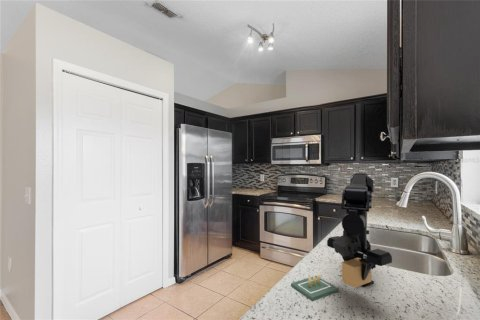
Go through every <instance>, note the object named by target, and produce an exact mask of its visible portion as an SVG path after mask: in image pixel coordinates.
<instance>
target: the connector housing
mask: <svg viewBox="0 0 480 320" xmlns="http://www.w3.org/2000/svg"><path fill="white" fill-rule="evenodd" d="M359 259H361V258H355V259H351V260H348V261H344V260H343V261H342V262H341V282H342V283H344V284H347V285H348V286H350V287H352V288H354V289H355V288H358V287H362V286H361V285H364V284H366V283H369V282H371V280H372V269H371V270H370V272H369V273H368V275H367V277H366V279H365V280H362V264H361V262H360V261H359Z"/></svg>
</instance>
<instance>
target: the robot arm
mask: <svg viewBox="0 0 480 320" xmlns="http://www.w3.org/2000/svg"><path fill="white" fill-rule="evenodd" d="M349 182H350V183H349V184H348V185H346V186H345V188H344V190H342V195H341V204H340V205H341V206H340V209H341V210H346V213H345V215H344V216H343V218H342V219H341V227H342V229H343V231H342V235H341V236H338V235H336V236H335V235H334V236H332V237H331V236H330V237H328V238H327V240H326V246H327V247H328V248H332V249H334V252H335V253H336V254H339V255H340V256H341V257H342V260H343V262H344V261H348V260H351V259H355V258H361V259H359V261H360V262H361V264H362V280H365V279H366V277H367V275H368V273H369V272H370V270H371V271H372V270H374V269H376V268H377V267H376V266H379V267H383V266H386V265H388V264H389V265H390V264H392V263H393V257H392V254H391V253H390V251H389V252H388V251H386V250H383V249H380V248H376V249H373V250H372V246H371V243H370V242H369V239H367V236H368V235H369V234H370V230H368V229H367V228H368V213H369V212H370V209H372V208H373V207H372V203H373V194H374V193H375V191H374V190H375V187H374V183H375V182H374V180H373V178H371V177H369V174H368V173H366V172H356V173H352V177H351V178H350V180H349ZM373 284H375V281H374V280H372V279H371V282H369V283H366V284H364V285H361V286H360V287H362V288H365V287H367V286H370V285H373Z"/></svg>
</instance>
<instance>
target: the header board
mask: <svg viewBox="0 0 480 320" xmlns="http://www.w3.org/2000/svg"><path fill="white" fill-rule="evenodd" d="M290 287H292V288H293V289H295V291H297V292H298V293H300V294H301V295H303V296H305V298H307V299H309V300H310V301H311V302H314V301H317V300H318V299H321V298H325V297H328V296H330V295H333V294H335V293H338V292H339V287H337V286H335V285H334V284H331V283H330V282H328V281H326V280H324V279H323V278H321V276H320V274H317V275H313V276H310V277H307V278H304V279H299V280H298V281H294V282H291V283H290Z"/></svg>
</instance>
